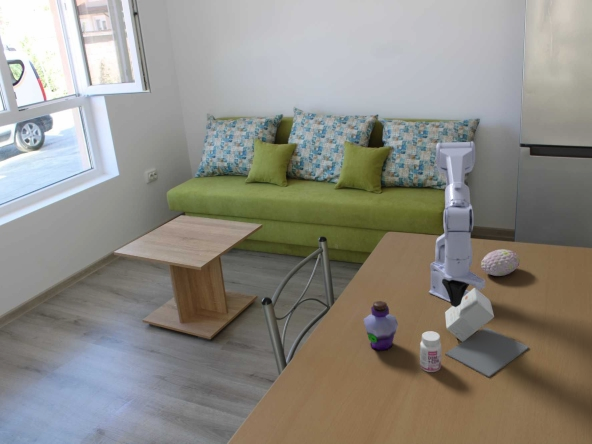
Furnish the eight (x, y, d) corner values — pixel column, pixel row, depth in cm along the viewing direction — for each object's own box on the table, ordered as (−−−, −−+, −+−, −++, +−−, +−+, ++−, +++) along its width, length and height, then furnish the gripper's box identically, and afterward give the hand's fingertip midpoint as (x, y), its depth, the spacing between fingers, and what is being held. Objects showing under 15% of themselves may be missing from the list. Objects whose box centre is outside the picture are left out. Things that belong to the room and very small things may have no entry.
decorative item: (472, 262, 165) (494, 236, 163) (483, 269, 174) (504, 244, 172) (495, 281, 159) (518, 255, 158) (505, 287, 168) (528, 262, 166)
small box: (462, 342, 136) (495, 317, 132) (445, 328, 136) (478, 302, 131) (460, 325, 143) (491, 300, 139) (444, 311, 143) (474, 286, 138)
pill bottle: (429, 375, 126) (429, 344, 123) (415, 364, 130) (415, 334, 127) (445, 368, 128) (446, 337, 124) (431, 357, 132) (431, 327, 128)
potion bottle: (360, 352, 136) (357, 310, 132) (368, 333, 143) (366, 292, 139) (394, 357, 133) (393, 314, 128) (401, 337, 140) (401, 296, 136)
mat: (445, 354, 132) (445, 353, 132) (485, 328, 141) (485, 327, 141) (488, 377, 123) (488, 376, 123) (528, 348, 132) (529, 346, 132)
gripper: (422, 251, 134) (422, 300, 139) (472, 270, 123) (470, 322, 128) (441, 242, 138) (440, 290, 143) (491, 259, 127) (488, 310, 132)
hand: (455, 304), depth 136 cm, fingers closed
